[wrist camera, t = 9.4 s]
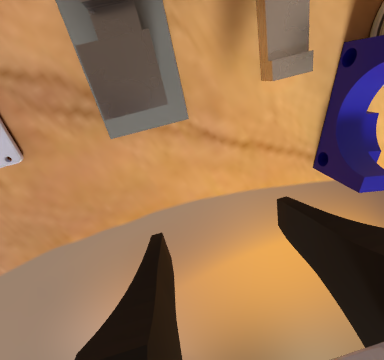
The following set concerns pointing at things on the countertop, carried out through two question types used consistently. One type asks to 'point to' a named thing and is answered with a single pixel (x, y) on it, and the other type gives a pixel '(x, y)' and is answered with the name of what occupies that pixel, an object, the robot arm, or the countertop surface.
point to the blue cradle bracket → (354, 118)
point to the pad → (157, 23)
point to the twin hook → (283, 38)
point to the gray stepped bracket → (121, 60)
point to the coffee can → (378, 23)
